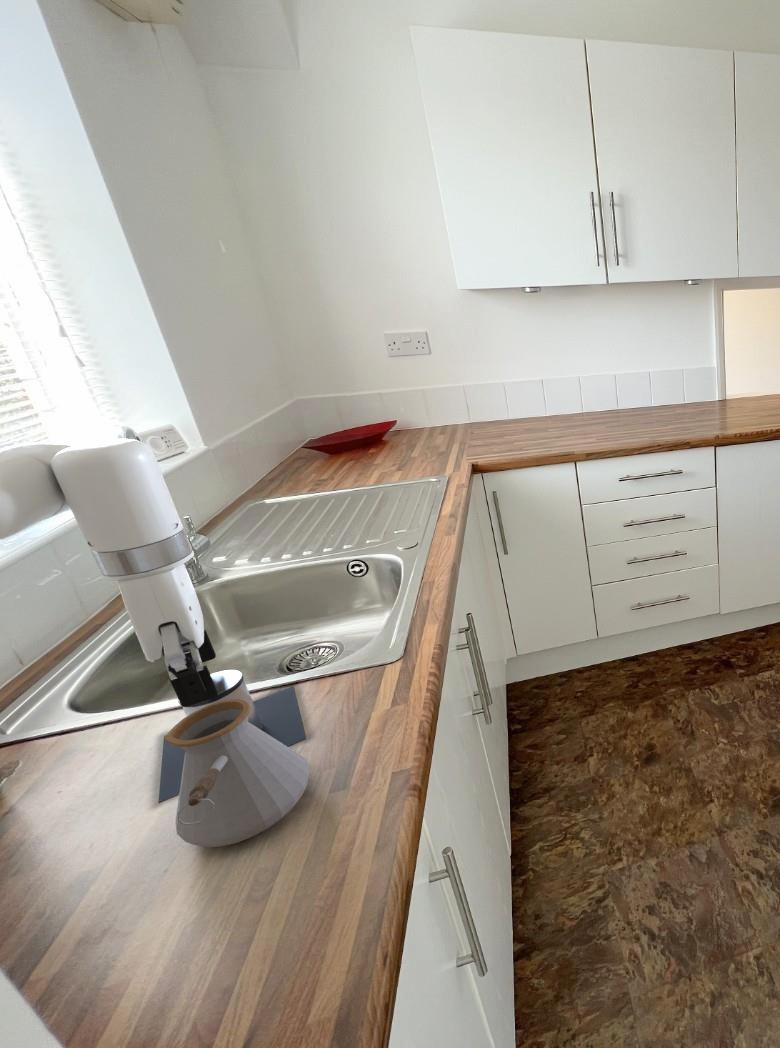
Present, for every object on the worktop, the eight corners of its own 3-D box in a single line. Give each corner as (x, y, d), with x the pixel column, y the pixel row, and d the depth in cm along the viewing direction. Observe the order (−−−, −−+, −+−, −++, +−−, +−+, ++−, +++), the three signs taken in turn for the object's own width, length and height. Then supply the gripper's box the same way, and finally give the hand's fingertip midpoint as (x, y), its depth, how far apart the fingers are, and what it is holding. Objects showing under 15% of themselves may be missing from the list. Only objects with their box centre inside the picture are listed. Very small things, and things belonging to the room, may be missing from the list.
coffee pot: (190, 808, 64) (132, 699, 59) (313, 756, 71) (270, 653, 65) (172, 975, 48) (89, 848, 43) (332, 888, 55) (278, 767, 49)
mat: (159, 805, 65) (158, 803, 65) (165, 738, 75) (163, 735, 75) (307, 741, 73) (306, 738, 73) (294, 688, 83) (293, 685, 83)
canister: (203, 764, 70) (176, 711, 67) (203, 736, 74) (177, 685, 71) (266, 737, 73) (243, 686, 70) (262, 712, 78) (240, 663, 75)
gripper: (106, 539, 68) (162, 661, 74) (86, 593, 56) (155, 734, 62) (190, 521, 72) (236, 638, 79) (188, 568, 60) (243, 702, 66)
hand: (200, 680), depth 70 cm, fingers open, 9 cm apart
